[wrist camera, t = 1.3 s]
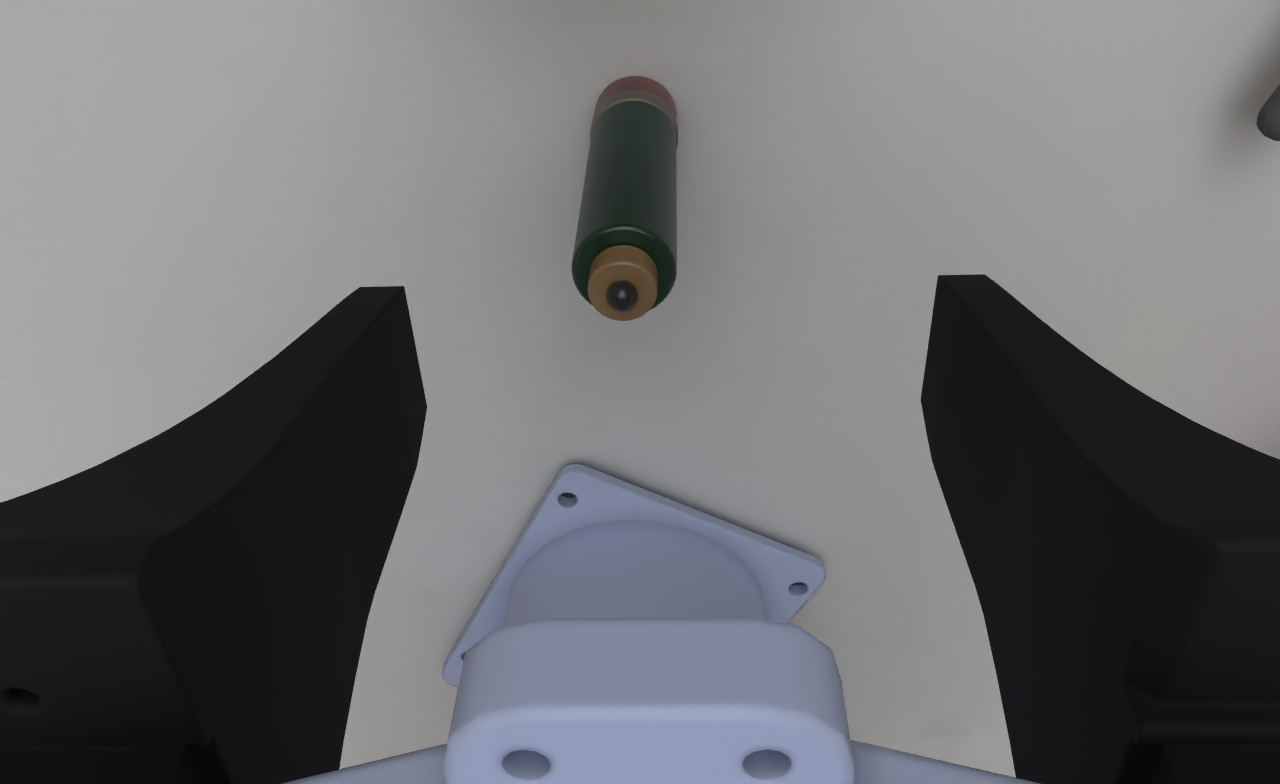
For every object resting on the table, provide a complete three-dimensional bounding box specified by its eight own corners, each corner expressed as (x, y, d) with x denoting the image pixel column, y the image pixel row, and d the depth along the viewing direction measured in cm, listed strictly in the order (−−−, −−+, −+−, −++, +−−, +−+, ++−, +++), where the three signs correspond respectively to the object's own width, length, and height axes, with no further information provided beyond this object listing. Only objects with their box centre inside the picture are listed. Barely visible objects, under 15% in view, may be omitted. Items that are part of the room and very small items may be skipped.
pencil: (653, 167, 24) (646, 367, 18) (580, 132, 23) (546, 324, 17) (692, 97, 23) (698, 283, 17) (616, 59, 22) (594, 235, 16)
